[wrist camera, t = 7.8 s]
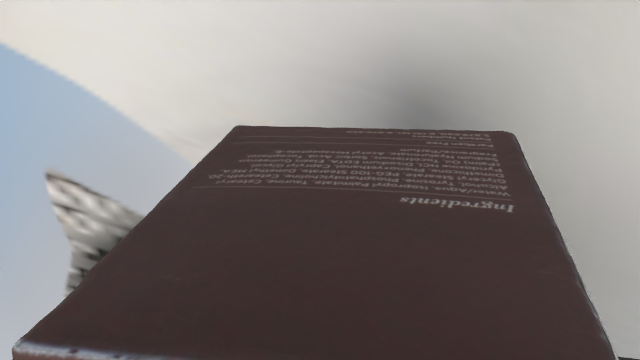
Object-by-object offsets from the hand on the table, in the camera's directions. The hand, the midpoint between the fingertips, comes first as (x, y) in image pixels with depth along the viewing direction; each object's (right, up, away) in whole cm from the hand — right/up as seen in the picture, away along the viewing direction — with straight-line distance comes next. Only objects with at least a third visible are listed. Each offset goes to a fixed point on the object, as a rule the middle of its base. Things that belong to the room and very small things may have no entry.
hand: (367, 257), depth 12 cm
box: (0, 0, 0) cm, 1 cm away
